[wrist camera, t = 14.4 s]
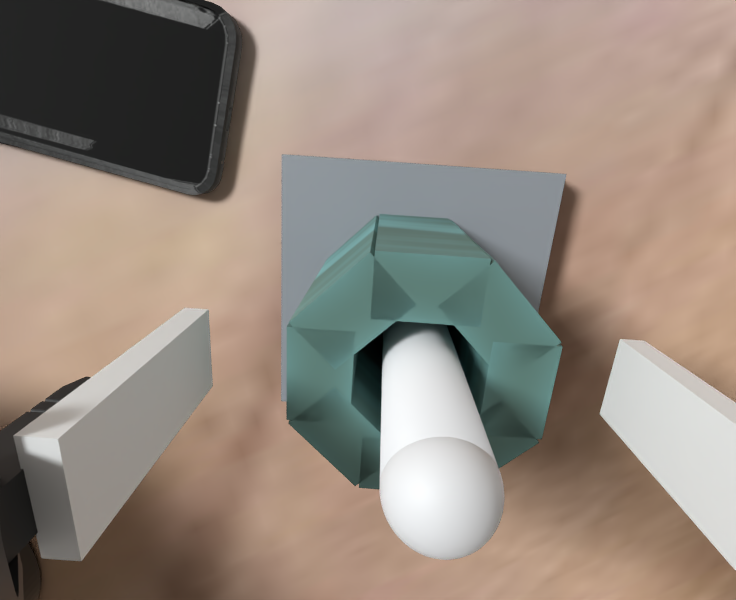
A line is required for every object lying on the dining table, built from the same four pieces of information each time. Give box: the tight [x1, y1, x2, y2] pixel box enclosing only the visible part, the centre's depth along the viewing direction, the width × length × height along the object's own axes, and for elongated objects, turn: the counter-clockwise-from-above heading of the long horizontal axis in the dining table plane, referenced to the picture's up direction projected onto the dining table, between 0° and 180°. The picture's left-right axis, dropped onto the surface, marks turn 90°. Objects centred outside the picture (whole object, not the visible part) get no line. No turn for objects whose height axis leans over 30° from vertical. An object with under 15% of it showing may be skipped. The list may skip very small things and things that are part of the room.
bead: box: [287, 214, 562, 489], centre depth 16 cm, size 8×8×8 cm
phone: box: [0, 0, 242, 195], centre depth 18 cm, size 8×1×15 cm
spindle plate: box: [281, 154, 566, 560], centre depth 14 cm, size 12×12×15 cm
